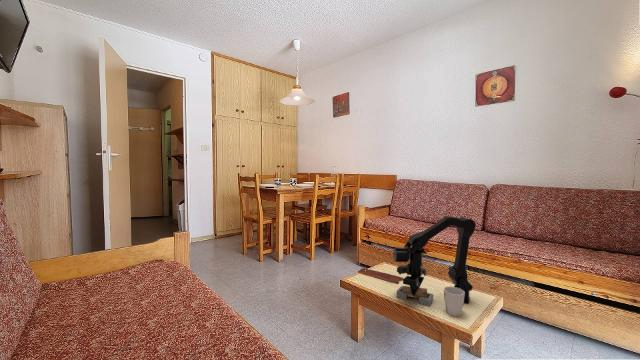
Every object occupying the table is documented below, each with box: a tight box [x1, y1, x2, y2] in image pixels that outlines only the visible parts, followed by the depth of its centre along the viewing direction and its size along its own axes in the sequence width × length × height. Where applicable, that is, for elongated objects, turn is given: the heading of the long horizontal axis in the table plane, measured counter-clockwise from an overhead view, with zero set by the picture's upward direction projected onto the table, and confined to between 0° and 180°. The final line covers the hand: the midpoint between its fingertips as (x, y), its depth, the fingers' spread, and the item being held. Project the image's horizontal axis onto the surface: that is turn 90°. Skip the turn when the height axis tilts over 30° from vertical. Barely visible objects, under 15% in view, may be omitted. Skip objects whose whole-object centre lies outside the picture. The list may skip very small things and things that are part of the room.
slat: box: [402, 285, 428, 299], centre depth 129 cm, size 11×4×4 cm, turn 61°
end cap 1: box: [395, 285, 408, 301], centre depth 132 cm, size 5×7×3 cm, turn 144°
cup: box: [443, 286, 465, 317], centre depth 116 cm, size 8×8×10 cm
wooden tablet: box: [357, 267, 405, 285], centre depth 157 cm, size 27×10×2 cm, turn 52°
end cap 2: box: [418, 292, 434, 307], centre depth 126 cm, size 5×7×3 cm, turn 144°
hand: (414, 293), depth 129 cm, fingers closed on slat, 4 cm apart
